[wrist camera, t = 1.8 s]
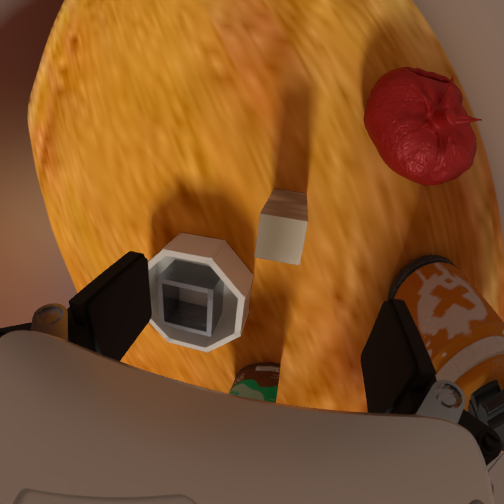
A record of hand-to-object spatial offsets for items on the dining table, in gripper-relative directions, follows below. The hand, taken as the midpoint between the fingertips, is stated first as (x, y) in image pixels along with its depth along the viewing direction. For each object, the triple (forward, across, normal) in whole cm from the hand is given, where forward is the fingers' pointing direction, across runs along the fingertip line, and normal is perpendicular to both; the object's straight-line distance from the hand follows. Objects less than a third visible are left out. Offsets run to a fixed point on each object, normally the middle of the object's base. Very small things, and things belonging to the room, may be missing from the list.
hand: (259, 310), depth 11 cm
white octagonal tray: (+17, +8, +10) cm, 22 cm away
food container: (+17, +1, +24) cm, 30 cm away
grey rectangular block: (+17, 0, 0) cm, 17 cm away
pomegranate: (+18, -10, -10) cm, 22 cm away
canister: (+17, -17, +7) cm, 25 cm away
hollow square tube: (+17, +8, +10) cm, 22 cm away
